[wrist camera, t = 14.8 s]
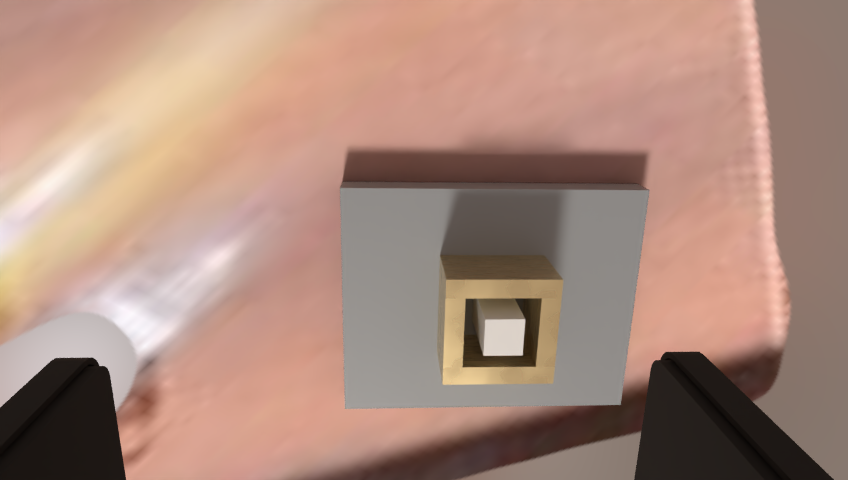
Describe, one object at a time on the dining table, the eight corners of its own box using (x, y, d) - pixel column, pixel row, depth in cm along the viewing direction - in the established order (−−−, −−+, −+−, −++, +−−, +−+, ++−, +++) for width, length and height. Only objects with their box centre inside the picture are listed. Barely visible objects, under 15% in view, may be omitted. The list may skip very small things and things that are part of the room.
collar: (439, 255, 39) (446, 279, 35) (544, 255, 40) (563, 279, 36) (436, 350, 41) (442, 384, 37) (536, 349, 42) (553, 383, 38)
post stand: (342, 181, 40) (333, 207, 33) (637, 183, 41) (685, 209, 34) (346, 393, 44) (339, 453, 38) (610, 389, 46) (648, 447, 39)
